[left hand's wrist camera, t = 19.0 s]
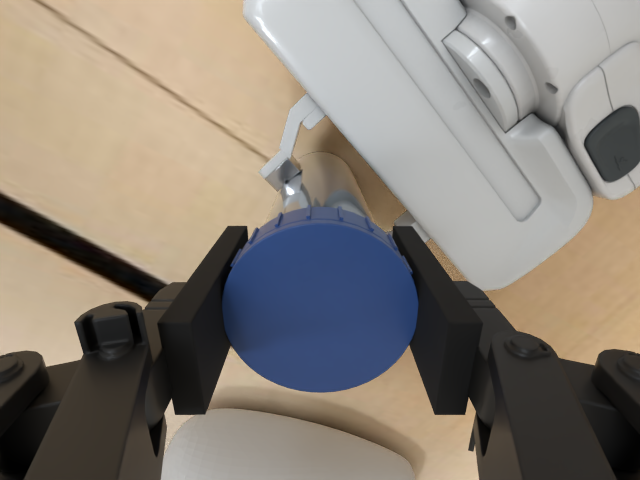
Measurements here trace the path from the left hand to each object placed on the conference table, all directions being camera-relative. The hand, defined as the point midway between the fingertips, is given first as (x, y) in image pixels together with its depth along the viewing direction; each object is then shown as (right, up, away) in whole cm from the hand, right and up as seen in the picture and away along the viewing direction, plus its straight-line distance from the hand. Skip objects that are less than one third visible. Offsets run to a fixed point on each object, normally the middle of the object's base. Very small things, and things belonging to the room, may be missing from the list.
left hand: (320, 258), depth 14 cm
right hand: (-1, +2, +6) cm, 7 cm away
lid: (0, -1, -4) cm, 4 cm away
